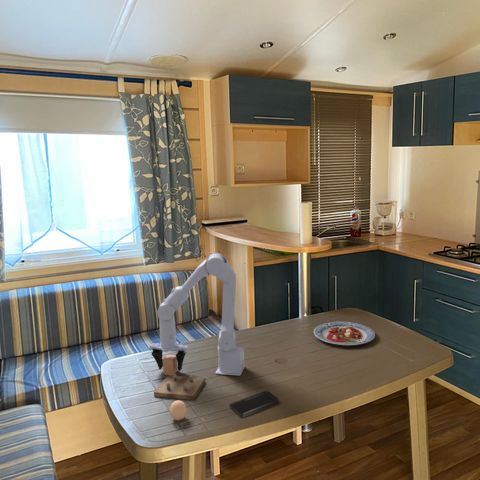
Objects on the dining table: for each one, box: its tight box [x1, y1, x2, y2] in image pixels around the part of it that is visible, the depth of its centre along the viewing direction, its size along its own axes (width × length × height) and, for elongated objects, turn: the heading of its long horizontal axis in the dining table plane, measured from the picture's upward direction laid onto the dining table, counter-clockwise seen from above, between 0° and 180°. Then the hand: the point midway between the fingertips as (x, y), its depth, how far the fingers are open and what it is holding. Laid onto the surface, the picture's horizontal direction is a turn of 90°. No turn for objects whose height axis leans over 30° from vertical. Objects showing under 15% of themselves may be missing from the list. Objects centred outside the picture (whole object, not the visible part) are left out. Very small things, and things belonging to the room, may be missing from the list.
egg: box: [169, 399, 188, 421], centre depth 131 cm, size 5×5×6 cm
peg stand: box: [153, 373, 206, 401], centre depth 149 cm, size 14×12×4 cm
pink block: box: [162, 354, 179, 376], centre depth 161 cm, size 4×4×6 cm
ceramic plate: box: [313, 321, 376, 346], centre depth 188 cm, size 26×26×3 cm
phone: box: [229, 390, 280, 418], centre depth 138 cm, size 8×1×15 cm
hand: (170, 368), depth 161 cm, fingers open, 7 cm apart
